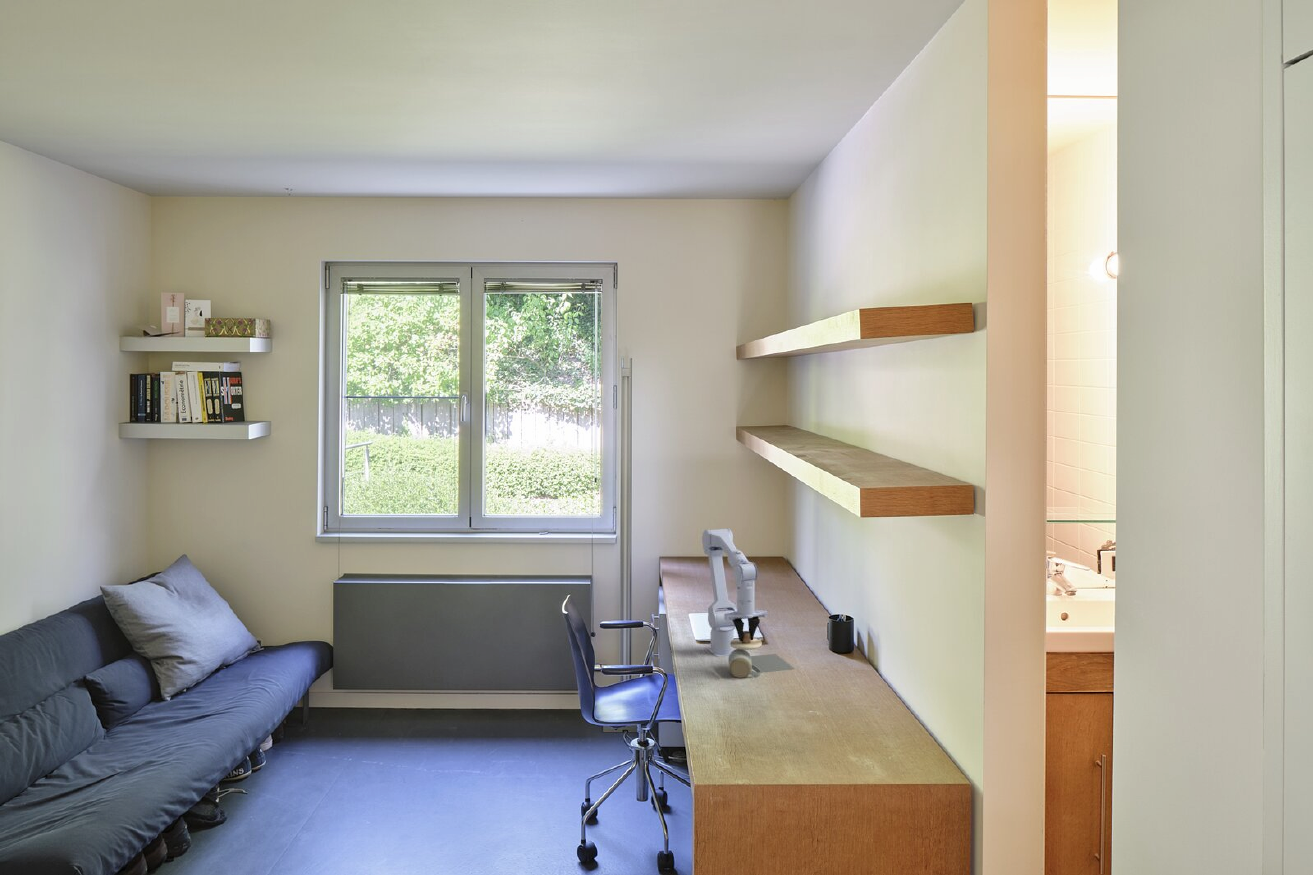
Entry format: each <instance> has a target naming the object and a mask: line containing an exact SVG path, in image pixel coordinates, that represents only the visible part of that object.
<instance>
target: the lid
mask: <svg viewBox="0 0 1313 875" xmlns="http://www.w3.org/2000/svg"><path fill="white" fill-rule="evenodd" d="M730 645H731V647H733V648H734V649H735V650H736V649H741V650H745V651H749V650H756V649H759V648H761V647H762V646H763V642H762V641H761V640H760V639H758V638H755V637H754V638H753V640H751V637H750V632H749V630H743V641H740V640H739V638H738V637H737V638H734V640H732V641H731V642H730Z"/></svg>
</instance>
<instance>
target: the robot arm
mask: <svg viewBox="0 0 1313 875" xmlns="http://www.w3.org/2000/svg"><path fill="white" fill-rule="evenodd" d="M733 539H734V535H733V532H732V530H731V529H730V527H729V528H728V527H727V528H720V529H719V528H717V529H704V531H703V532H702V536H701V541H702V542H701V543H702V548H703V549H702V550H703V553H704V554H706V555H707V557H708V563H709V569H710V570H709V571H710V578H711V583H712V584H711V585H712V591H713V593H712V594H713V600H714V601H713V602H712V603H711V604H710V605H709V607H708V609H707V613H708V614H707V622H708V625H709V627H710V628H711V630H710V647H708V648H707V650H709V651H710V652H711V654H713V655H714V656H715V657H718V658H719V657H720V658H721V657H729V655H730V653H731V652H732V651H734V650H735V648H733V647H731V645H730V642H731V641H732V640H734V639H735V638H734V637H735V636H734V634H735V633H734V630H736V633H737V638H739V640H740V641H743V631H744V626H745V622H744V621H743V620H744V619H746V620H747V623H748V631H749V632H750V637H751V640H753V638H755V634H756V630H757V628H758V626H759V624H760V621H761V619H760V618H765V619H766V618H768V611H767V610H764V609H762V610H755V607H756V606H755V604H756V603H755V602H756V601H755V597H756V596H755V589H756V588H755V584H756V583H755V581H757V580H758V575H759V572H758V568H757V567H758V566H757V565H756V563H755V562H751V561H749V560H748V558H747V557H746V556H745V554H744V553H743V551H742V550H739V549H737V548H736V546H735V544H734V542H733V541H734V540H733ZM724 554H726V556H727V562H728V564H729V565H730V566H731V568H732V569H733V575H734V580H735V587H736V589H737V590H736V596H737V597H736V600H737V601H736V604H735V603H733V602H732V601H731V600H729V596H728V587H727V583H726V573H725V569H724V568H725V567H724V561H723V556H724ZM736 605H737V606H736Z"/></svg>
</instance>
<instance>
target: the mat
mask: <svg viewBox="0 0 1313 875" xmlns="http://www.w3.org/2000/svg"><path fill="white" fill-rule="evenodd" d="M750 656H751V660H752V664H753V665H755V666H757V667H758V668H759V669H760V670H761V674H762V673H770V672H779V671H790V670H795V669H796V668H794V666H792V665H791V664H789V663H788V662H787V661H785V659H783V658H782V657H780V656H779V655H778V654H776V653H769V654H760V655H750Z"/></svg>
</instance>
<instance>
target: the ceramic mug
mask: <svg viewBox="0 0 1313 875" xmlns="http://www.w3.org/2000/svg"><path fill="white" fill-rule="evenodd" d="M751 656H752V655H751V654H750V653H749V652H748V650H741V649H736V648H735V649H734V651H732V652H731V653H730V655H729V656H728V668H729V672H730V673H731V674H732V676H733V677H735V678H737V679H745V678H746V677H749V675H751V676H752V677H757V678H758V677H760V676H761V675H762V673H761V670H760V669H759V668H758V667H757V666H755V665H753V664H752V660H751Z"/></svg>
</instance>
